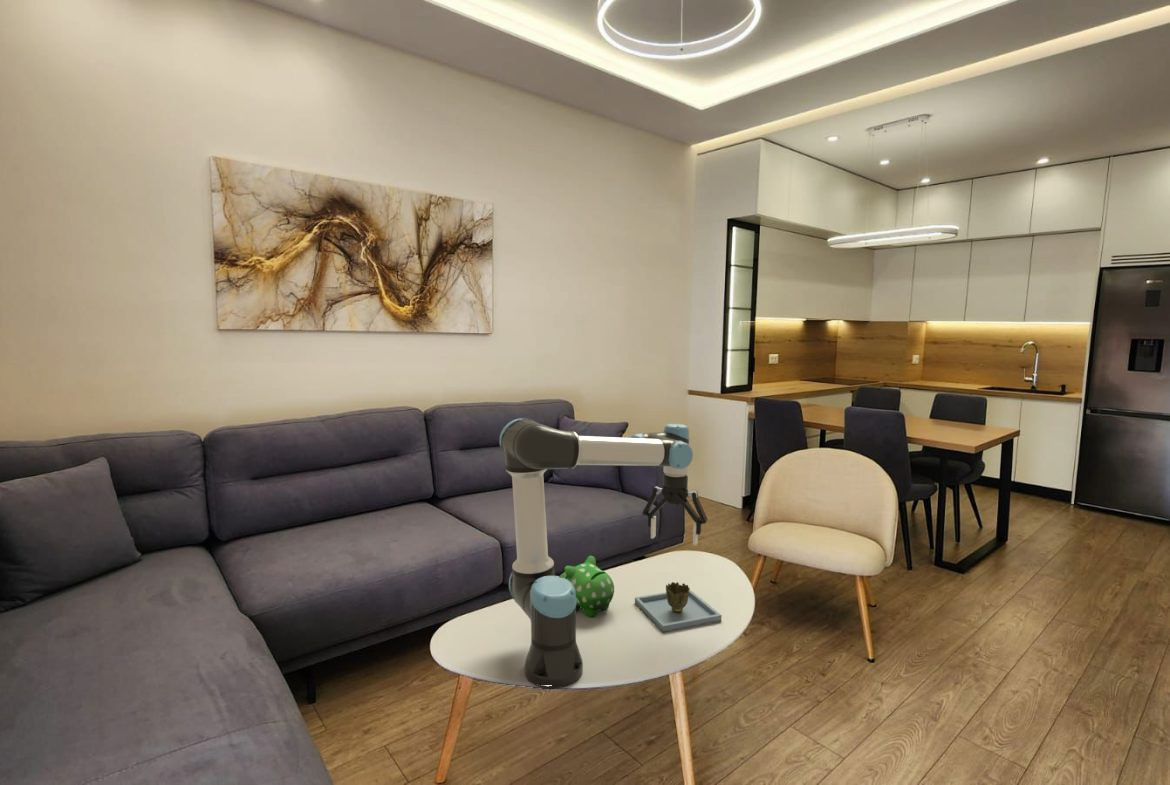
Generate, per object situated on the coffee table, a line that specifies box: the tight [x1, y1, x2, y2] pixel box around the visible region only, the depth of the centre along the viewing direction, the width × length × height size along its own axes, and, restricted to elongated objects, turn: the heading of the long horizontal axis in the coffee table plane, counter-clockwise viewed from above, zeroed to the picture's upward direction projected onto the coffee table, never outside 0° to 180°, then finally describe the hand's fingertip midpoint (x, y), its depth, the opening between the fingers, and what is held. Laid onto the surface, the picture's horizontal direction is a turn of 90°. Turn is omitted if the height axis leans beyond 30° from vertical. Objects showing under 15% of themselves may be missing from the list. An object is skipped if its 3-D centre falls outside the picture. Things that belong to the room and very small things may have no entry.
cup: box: [665, 581, 691, 613], centre depth 182 cm, size 8×7×8 cm
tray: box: [634, 588, 722, 633], centre depth 183 cm, size 20×20×2 cm
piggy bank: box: [559, 555, 615, 618], centre depth 185 cm, size 14×18×15 cm
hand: (673, 540), depth 180 cm, fingers open, 13 cm apart
